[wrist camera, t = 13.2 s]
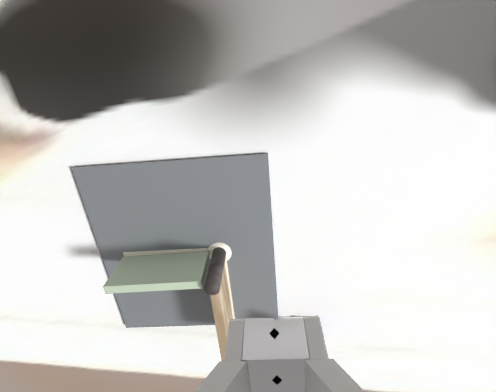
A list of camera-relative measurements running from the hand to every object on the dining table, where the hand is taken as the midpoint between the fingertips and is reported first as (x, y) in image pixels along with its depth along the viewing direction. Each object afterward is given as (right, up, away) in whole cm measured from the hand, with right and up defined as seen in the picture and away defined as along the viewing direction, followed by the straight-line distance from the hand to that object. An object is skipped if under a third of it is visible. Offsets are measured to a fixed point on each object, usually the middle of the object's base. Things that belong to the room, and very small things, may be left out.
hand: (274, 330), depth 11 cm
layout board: (-10, -4, +37) cm, 38 cm away
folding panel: (-13, -5, +36) cm, 39 cm away
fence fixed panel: (-5, -10, +39) cm, 40 cm away
